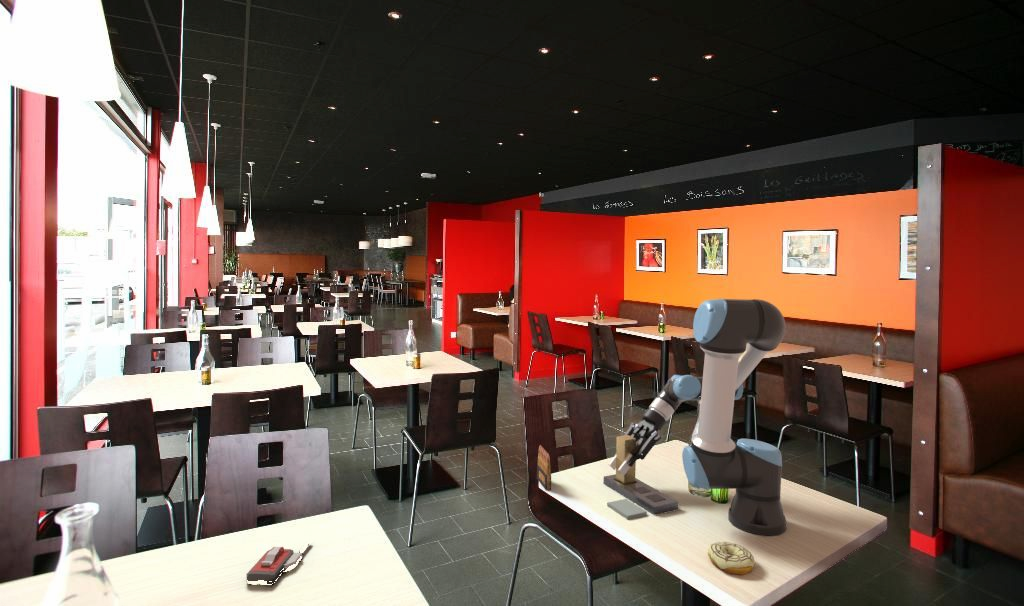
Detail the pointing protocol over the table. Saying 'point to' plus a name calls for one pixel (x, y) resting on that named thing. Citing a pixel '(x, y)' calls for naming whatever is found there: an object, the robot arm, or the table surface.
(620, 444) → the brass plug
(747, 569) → the decorated donut
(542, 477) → the brown upright box
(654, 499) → the dark square socket tray
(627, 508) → the rubber mat
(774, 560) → the table surface
